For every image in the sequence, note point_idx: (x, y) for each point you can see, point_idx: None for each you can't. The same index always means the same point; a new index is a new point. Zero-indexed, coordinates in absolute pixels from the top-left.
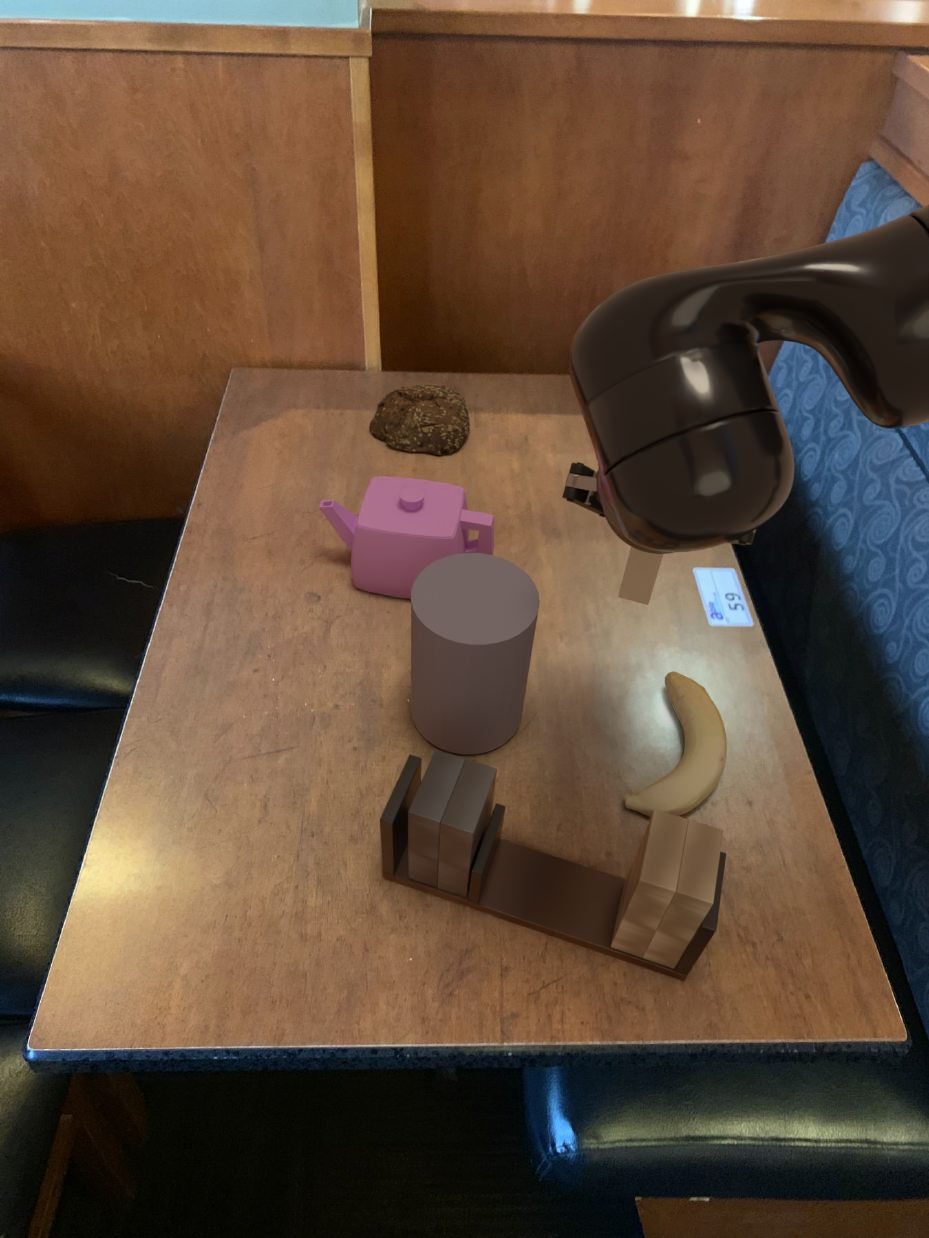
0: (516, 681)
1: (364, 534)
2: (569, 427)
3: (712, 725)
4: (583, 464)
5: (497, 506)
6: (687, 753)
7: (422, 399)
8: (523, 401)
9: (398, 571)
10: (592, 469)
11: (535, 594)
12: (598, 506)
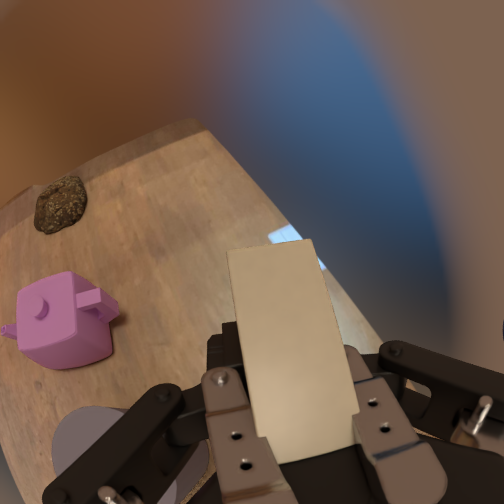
0: (192, 483)
1: (26, 353)
2: (146, 162)
3: None
4: (65, 500)
5: (115, 247)
6: None
7: (51, 194)
8: (115, 159)
9: (63, 362)
10: (94, 492)
11: None
12: (168, 482)
